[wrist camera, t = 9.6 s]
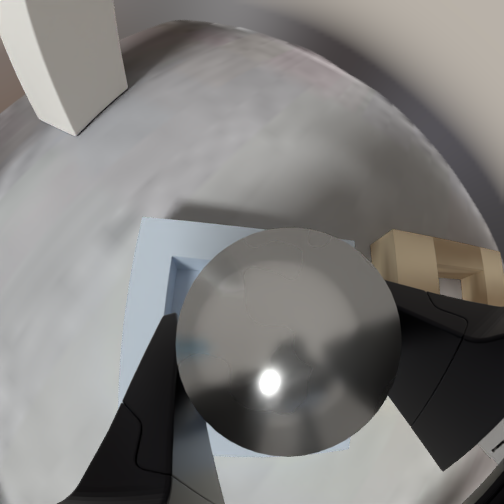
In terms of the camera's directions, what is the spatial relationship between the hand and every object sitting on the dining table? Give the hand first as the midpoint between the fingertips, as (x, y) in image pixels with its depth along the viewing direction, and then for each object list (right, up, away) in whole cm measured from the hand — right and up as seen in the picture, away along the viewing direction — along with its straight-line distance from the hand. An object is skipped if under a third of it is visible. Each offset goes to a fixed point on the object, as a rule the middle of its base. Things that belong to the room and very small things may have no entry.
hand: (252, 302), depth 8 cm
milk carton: (-16, +16, +12) cm, 26 cm away
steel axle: (0, -3, +6) cm, 7 cm away
